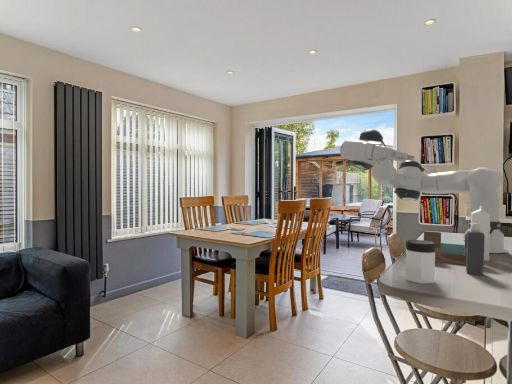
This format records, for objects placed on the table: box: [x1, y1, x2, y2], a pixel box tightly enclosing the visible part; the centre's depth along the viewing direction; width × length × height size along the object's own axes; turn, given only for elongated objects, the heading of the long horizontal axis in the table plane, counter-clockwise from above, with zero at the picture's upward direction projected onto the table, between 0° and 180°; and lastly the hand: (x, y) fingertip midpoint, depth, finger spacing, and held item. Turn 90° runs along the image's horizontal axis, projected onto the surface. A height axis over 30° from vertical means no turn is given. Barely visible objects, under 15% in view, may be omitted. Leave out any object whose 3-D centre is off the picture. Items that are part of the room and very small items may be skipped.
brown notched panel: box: [423, 230, 485, 268], centre depth 125 cm, size 2×20×12 cm, turn 61°
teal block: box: [441, 239, 465, 256], centre depth 130 cm, size 8×8×7 cm
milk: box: [470, 206, 490, 262], centre depth 132 cm, size 6×6×22 cm
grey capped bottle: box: [465, 223, 484, 276], centre depth 110 cm, size 4×4×17 cm
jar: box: [404, 239, 436, 285], centre depth 100 cm, size 9×8×12 cm
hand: (410, 156), depth 126 cm, fingers open, 8 cm apart
